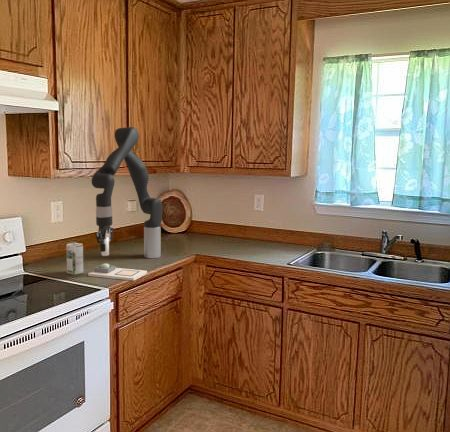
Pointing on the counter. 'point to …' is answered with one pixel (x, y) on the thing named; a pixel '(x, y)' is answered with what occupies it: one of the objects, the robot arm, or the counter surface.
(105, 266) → the button
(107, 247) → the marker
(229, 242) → the counter surface
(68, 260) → the syrup box
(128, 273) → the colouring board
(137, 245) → the counter surface
